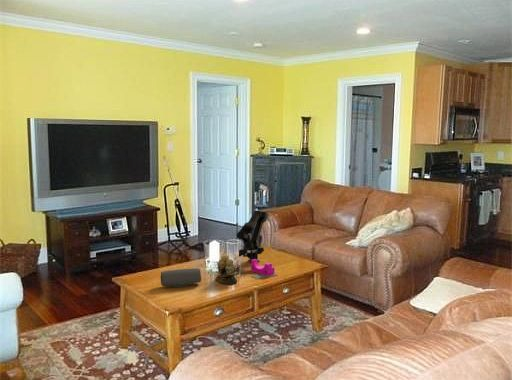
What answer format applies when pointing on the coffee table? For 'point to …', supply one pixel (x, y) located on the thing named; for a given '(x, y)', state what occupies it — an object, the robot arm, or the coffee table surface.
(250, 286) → the coffee table surface
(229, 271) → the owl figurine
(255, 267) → the toy block
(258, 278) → the mat
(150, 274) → the coffee table surface
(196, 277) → the bluetooth speaker
